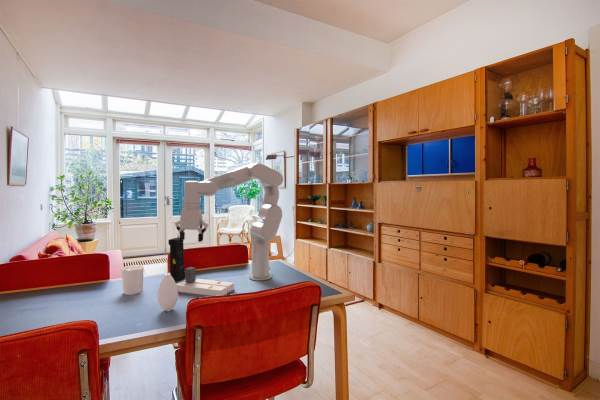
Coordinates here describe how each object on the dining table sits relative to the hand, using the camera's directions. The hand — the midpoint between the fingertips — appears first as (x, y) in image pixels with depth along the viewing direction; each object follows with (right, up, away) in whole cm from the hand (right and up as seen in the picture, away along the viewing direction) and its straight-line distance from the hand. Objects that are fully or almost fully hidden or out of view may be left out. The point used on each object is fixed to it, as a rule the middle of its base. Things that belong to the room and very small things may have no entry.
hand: (191, 240), depth 155 cm
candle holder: (-28, -25, -1) cm, 37 cm away
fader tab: (-1, -23, +2) cm, 23 cm away
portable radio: (-14, -24, +19) cm, 33 cm away
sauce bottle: (-2, -26, -23) cm, 35 cm away
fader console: (+7, -25, -1) cm, 26 cm away
